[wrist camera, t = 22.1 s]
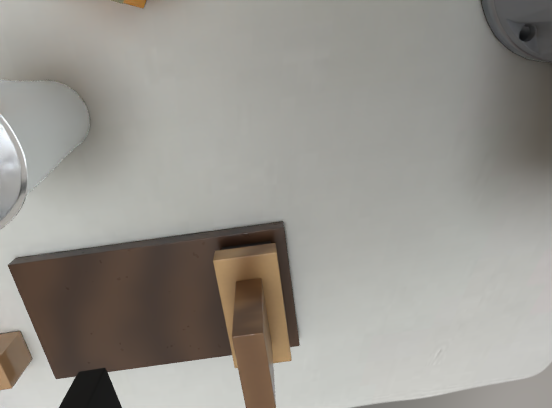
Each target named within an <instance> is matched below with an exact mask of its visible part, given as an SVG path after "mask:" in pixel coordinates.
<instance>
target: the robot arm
mask: <svg viewBox="0 0 552 408" xmlns="http://www.w3.org/2000/svg"><path fill="white" fill-rule="evenodd" d="M482 5H483V10H484V13H485V16H486V19H487V21H488V24H489V26H490V28H491V29H492V31H493V33H494V34H495V36H496V37H497V38H498V39H499V41H500V42H501V43H502V44H503V45H504V46H506V47H507V48H508V49H509V50H511V51H512V52H514V53H515V54H517V55H519V56H521V57H524V58H527V59H530V60H534V61H542V62H552V0H482ZM59 408H122V407H121V404H120V402H119V400H118V397H117V395H116V392H115V390H114V387H113V385H112V382H111V380H110V378H109V375H108V373H107V370H106V368H99V369H93V370H86V371H80V372H78V374H77V376H76V377H75V379H74V381H73V383H72V385H71V387H70V388H69V390H68V392H67V394H66V396H65V398H64V399H63V401H62V403H61V405H60V407H59Z"/></svg>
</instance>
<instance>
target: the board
mask: <svg viewBox="0 0 552 408" xmlns="http://www.w3.org/2000/svg"><path fill="white" fill-rule="evenodd" d="M267 241H271V243H276V249H277V256H278V264H279V271H280V278H281V286H282V293H283V300H284V307H285V315H286V322H287V329H288V337H289V344H290V347H294V346H299V345H300V344H299V337H298V329H297V322H296V314H295V306H294V299H293V291H292V284H291V276H290V268H289V261H288V253H287V246H286V238H285V231H284V224H283V222H276V223H269V224H262V225H255V226H247V227H240V228H233V229H225V230H218V231H211V232H203V233H196V234H189V235H181V236H174V237H167V238H159V239H152V240H145V241H138V242H130V243H123V244H116V245H108V246H101V247H94V248H86V249H79V250H72V251H64V252H57V253H50V254H42V255H35V256H28V257H20V258H15V259H14V260H13V261H12V262H11V263H10V264H9V265H8V267H9V269H10V272H11V274H12V276H13V279H14V281H15V283H16V286H17V288H18V291H19V293H20V295H21V298H22V300H23V302H24V305H25V307H26V310H27V312H28V314H29V317H30V319H31V321H32V324H33V326H34V328H35V331H36V333H37V336H38V338H39V340H40V343H41V345H42V347H43V350H44V352H45V355H46V357H47V359H48V362H49V364H50V366H51V369H52V371H53V373H54V376H55V378H56V379H60V378H67V377H75V376H77V374H78V372H80V371H86V370H93V369H99V368H106V370H107V372H111V371H118V370H126V369H133V368H140V367H148V366H155V365H162V364H170V363H177V362H184V361H192V360H199V359H206V358H213V357H221V356H228V355H232V351H231V346H230V342H229V337H228V332H227V327H226V322H225V317H224V312H223V307H222V302H221V298H220V293H219V288H218V283H217V278H216V273H215V268H214V263H213V259H214V253H215V251H218V250H221V249H222V247H229V246H237V245H244V244H252V243H259V242H267Z"/></svg>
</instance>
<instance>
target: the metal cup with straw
mask: <svg viewBox="0 0 552 408" xmlns="http://www.w3.org/2000/svg"><path fill="white" fill-rule="evenodd" d="M89 128H90V116H89V112H88V109H87V106H86V104H85V103H84V101H83V99H82V98H81V97H80V96H79V95H78V94H77V93H76V92H75V91H74V90H73V89H72V88H70V87H69V86H67V85H65V84H63V83H60V82H57V81H52V80H41V81H13V80H0V229H2V228H3V227H5V226H6V225H7V224H8V223H10V222H11V221H12V220H13V219H14V217H15V216H16V215H17V214H18V212H19V211H20V209H21V207H22V206H23V204H24V201H25V199H26V196H27V195H28V194H29V193H30V192H31V191H32V190H33V189H34V188H35V187H36V186H37V185H38V184H39V183H40V182H41V181H42V180H43V179H44V178H46V177H47V176H48V175H49V174H50V173H51V172H52V171H53V170H54V169H55V168H56V167H57V166H58V165H59V163H60V162H61V161H62V160H63V159H64V158H65V157H66V156H67V155H68V154H69V153H70V152H71V151H73V150H74V149H75V148H76V147H77V146H78V145H80V144H81V143H82V142H83V141H84V139H85V138H86V136H87V134H88V132H89Z"/></svg>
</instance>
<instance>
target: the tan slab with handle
mask: <svg viewBox="0 0 552 408" xmlns="http://www.w3.org/2000/svg"><path fill="white" fill-rule="evenodd" d="M213 263H214V268H215V273H216V278H217V283H218V288H219V293H220V298H221V302H222V307H223V312H224V317H225V322H226V327H227V332H228V337H229V342H230V346H231V351H232V356H233V361H234V366H235V368H238V370H239V375H240V380H241V385H242V390H243V395H244V400H245V405H246V408H276V401H275V385H274V368H273V363H278V362H286V361H291V352H290V344H289V337H288V329H287V322H286V315H285V307H284V300H283V293H282V286H281V278H280V271H279V264H278V256H277V249H276V243H271V241H267V242H259V243H252V244H244V245H237V246H229V247H222V249H221V250H218V251H215V253H214V259H213Z"/></svg>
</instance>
